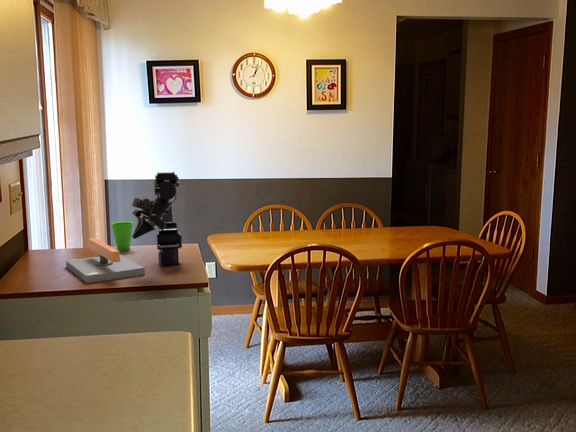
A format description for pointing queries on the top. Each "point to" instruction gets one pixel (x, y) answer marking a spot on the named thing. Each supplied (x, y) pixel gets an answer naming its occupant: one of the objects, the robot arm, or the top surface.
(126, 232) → the cup
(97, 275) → the panel
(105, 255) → the handle
